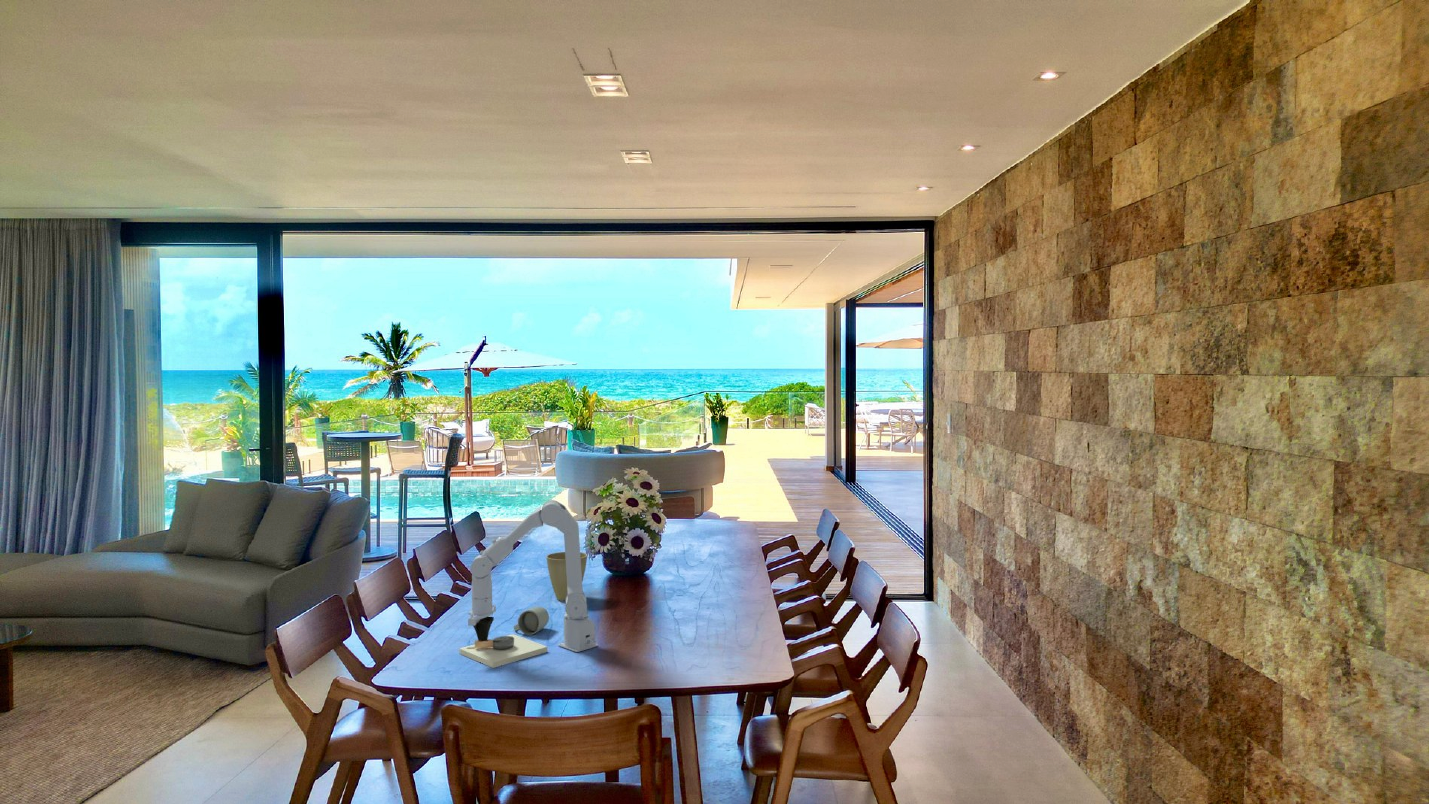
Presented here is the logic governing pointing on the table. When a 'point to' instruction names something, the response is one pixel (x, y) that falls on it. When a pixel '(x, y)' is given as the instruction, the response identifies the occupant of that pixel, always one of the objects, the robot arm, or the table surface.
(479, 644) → the twist handle
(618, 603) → the table surface
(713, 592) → the table surface
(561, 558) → the plant pot
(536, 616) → the ceramic mug
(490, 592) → the robot arm
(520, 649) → the base
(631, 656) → the table surface
